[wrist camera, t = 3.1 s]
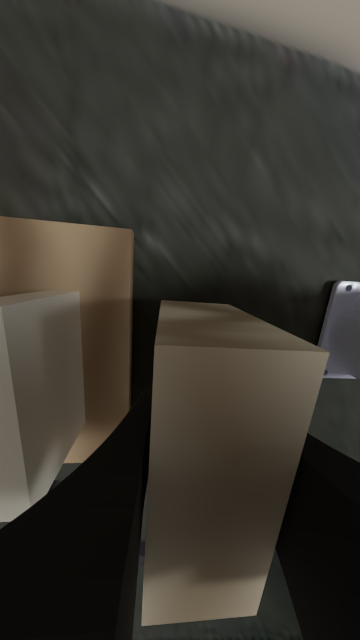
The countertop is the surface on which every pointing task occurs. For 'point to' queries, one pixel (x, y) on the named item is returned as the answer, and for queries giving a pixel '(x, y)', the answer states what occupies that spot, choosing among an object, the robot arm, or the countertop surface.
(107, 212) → the countertop surface
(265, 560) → the tan mottled block
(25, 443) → the tile
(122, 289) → the cork mat
